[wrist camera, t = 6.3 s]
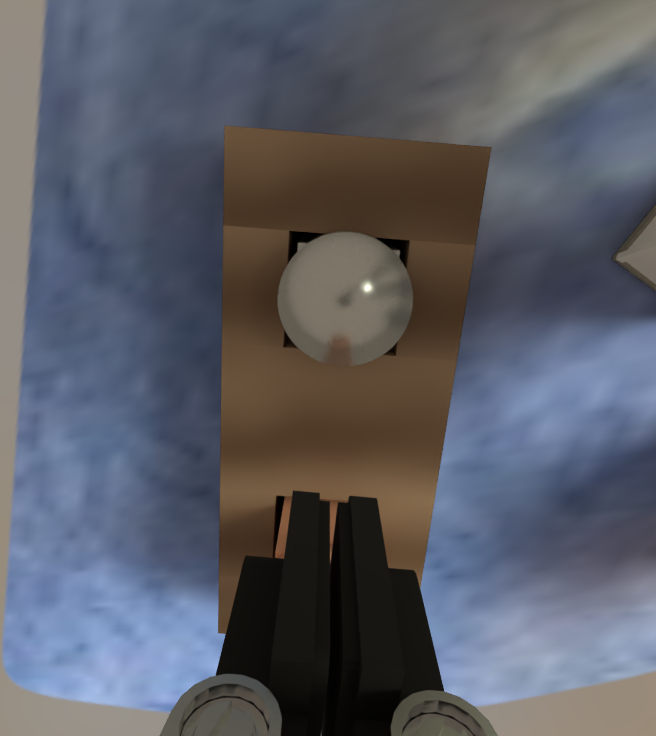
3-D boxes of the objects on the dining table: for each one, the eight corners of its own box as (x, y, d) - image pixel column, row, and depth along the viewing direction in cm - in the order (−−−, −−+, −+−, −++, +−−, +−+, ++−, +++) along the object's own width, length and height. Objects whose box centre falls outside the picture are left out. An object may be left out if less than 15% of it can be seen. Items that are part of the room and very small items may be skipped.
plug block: (246, 140, 24) (224, 125, 19) (460, 157, 24) (491, 147, 19) (236, 567, 31) (218, 633, 27) (399, 579, 32) (410, 646, 27)
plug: (293, 220, 25) (280, 226, 19) (401, 228, 25) (421, 237, 19) (288, 325, 26) (274, 361, 21) (388, 333, 27) (404, 370, 21)
